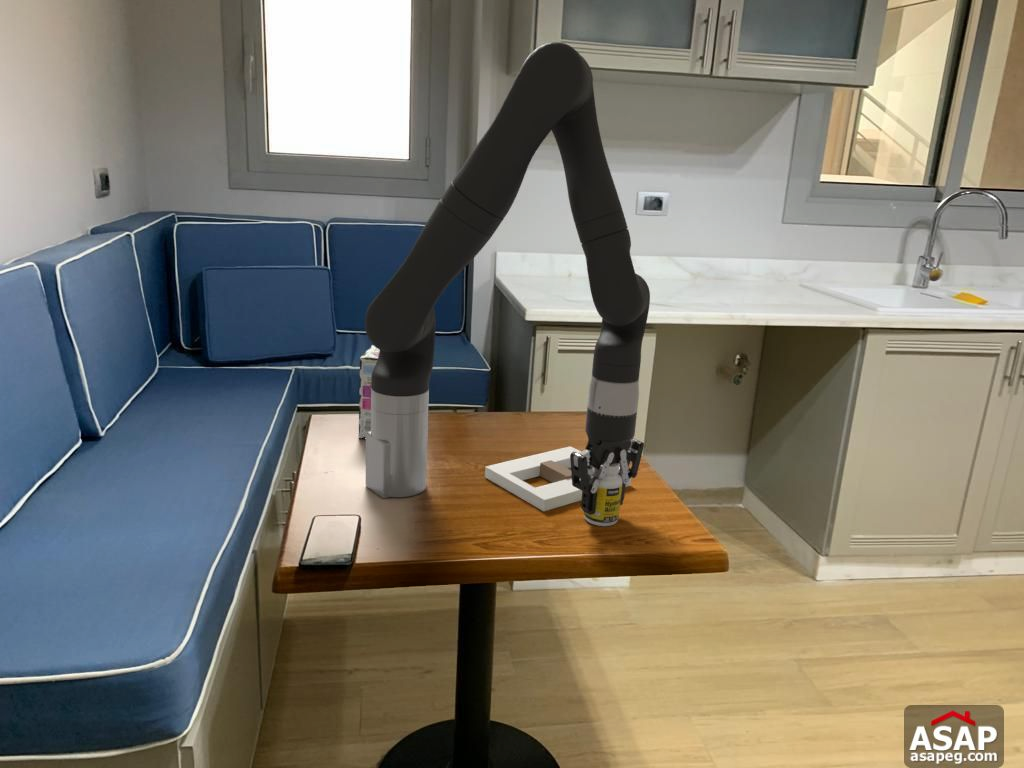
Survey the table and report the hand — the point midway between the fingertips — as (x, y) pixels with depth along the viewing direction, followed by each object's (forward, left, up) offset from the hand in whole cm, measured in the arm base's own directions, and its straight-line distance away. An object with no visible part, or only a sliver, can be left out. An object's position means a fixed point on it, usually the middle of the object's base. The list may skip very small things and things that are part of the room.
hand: (602, 507), depth 122 cm
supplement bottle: (0, 0, -2) cm, 2 cm away
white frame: (+4, +15, -2) cm, 16 cm away
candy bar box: (-11, +53, -2) cm, 54 cm away
